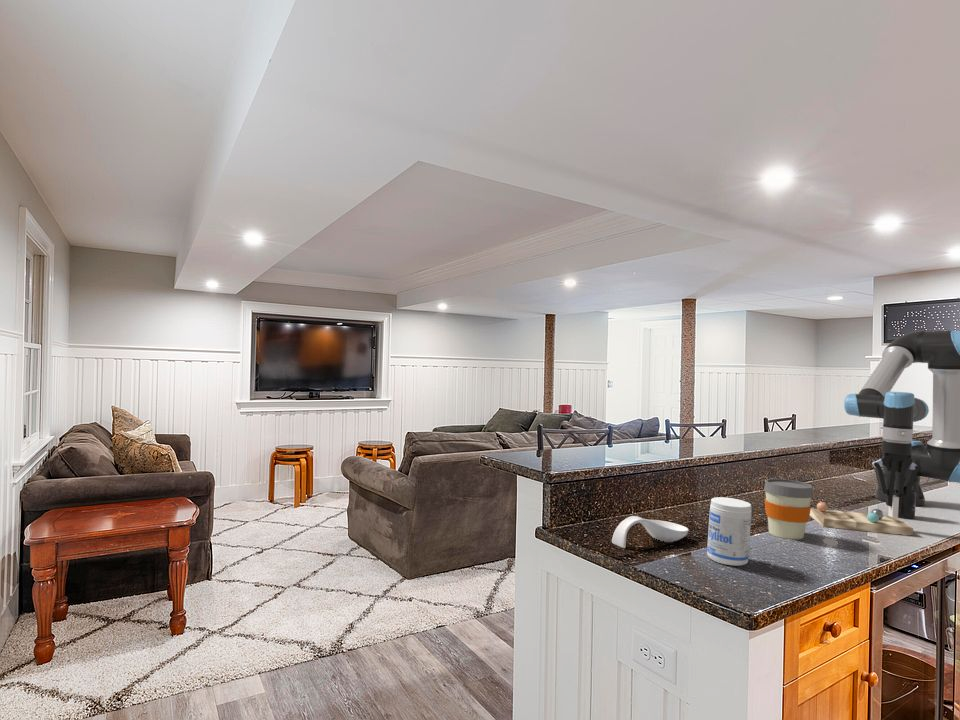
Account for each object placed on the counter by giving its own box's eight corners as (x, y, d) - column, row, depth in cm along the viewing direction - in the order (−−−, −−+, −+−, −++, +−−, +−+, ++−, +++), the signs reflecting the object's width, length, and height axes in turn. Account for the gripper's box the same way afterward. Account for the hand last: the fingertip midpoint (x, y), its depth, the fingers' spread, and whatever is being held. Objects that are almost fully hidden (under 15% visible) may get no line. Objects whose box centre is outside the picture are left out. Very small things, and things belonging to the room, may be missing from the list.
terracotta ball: (825, 510, 185) (825, 501, 185) (828, 513, 182) (829, 503, 182) (815, 509, 185) (815, 500, 185) (818, 512, 182) (818, 502, 182)
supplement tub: (701, 559, 141) (704, 500, 140) (713, 550, 148) (716, 494, 148) (742, 570, 134) (745, 509, 134) (753, 560, 142) (756, 502, 141)
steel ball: (880, 518, 178) (881, 508, 178) (885, 521, 175) (885, 510, 175) (868, 517, 179) (869, 507, 179) (873, 520, 176) (873, 509, 176)
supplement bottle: (919, 520, 188) (921, 484, 188) (896, 518, 189) (898, 482, 189) (908, 514, 194) (909, 480, 194) (885, 512, 196) (887, 478, 196)
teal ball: (876, 521, 174) (876, 511, 174) (880, 524, 171) (880, 514, 171) (865, 520, 175) (865, 510, 175) (869, 523, 172) (869, 513, 172)
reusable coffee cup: (792, 543, 157) (795, 489, 156) (752, 530, 168) (755, 479, 168) (820, 538, 162) (822, 486, 162) (779, 525, 174) (782, 477, 173)
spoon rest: (663, 530, 164) (664, 505, 164) (697, 542, 154) (698, 516, 154) (602, 540, 153) (603, 514, 153) (634, 555, 142) (635, 526, 142)
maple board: (892, 523, 182) (892, 516, 182) (912, 536, 169) (913, 527, 169) (809, 515, 187) (810, 508, 187) (823, 526, 175) (823, 518, 175)
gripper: (878, 441, 173) (874, 517, 174) (927, 444, 170) (923, 522, 171) (868, 438, 181) (864, 511, 181) (915, 441, 178) (911, 515, 178)
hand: (893, 516), depth 176 cm, fingers closed
